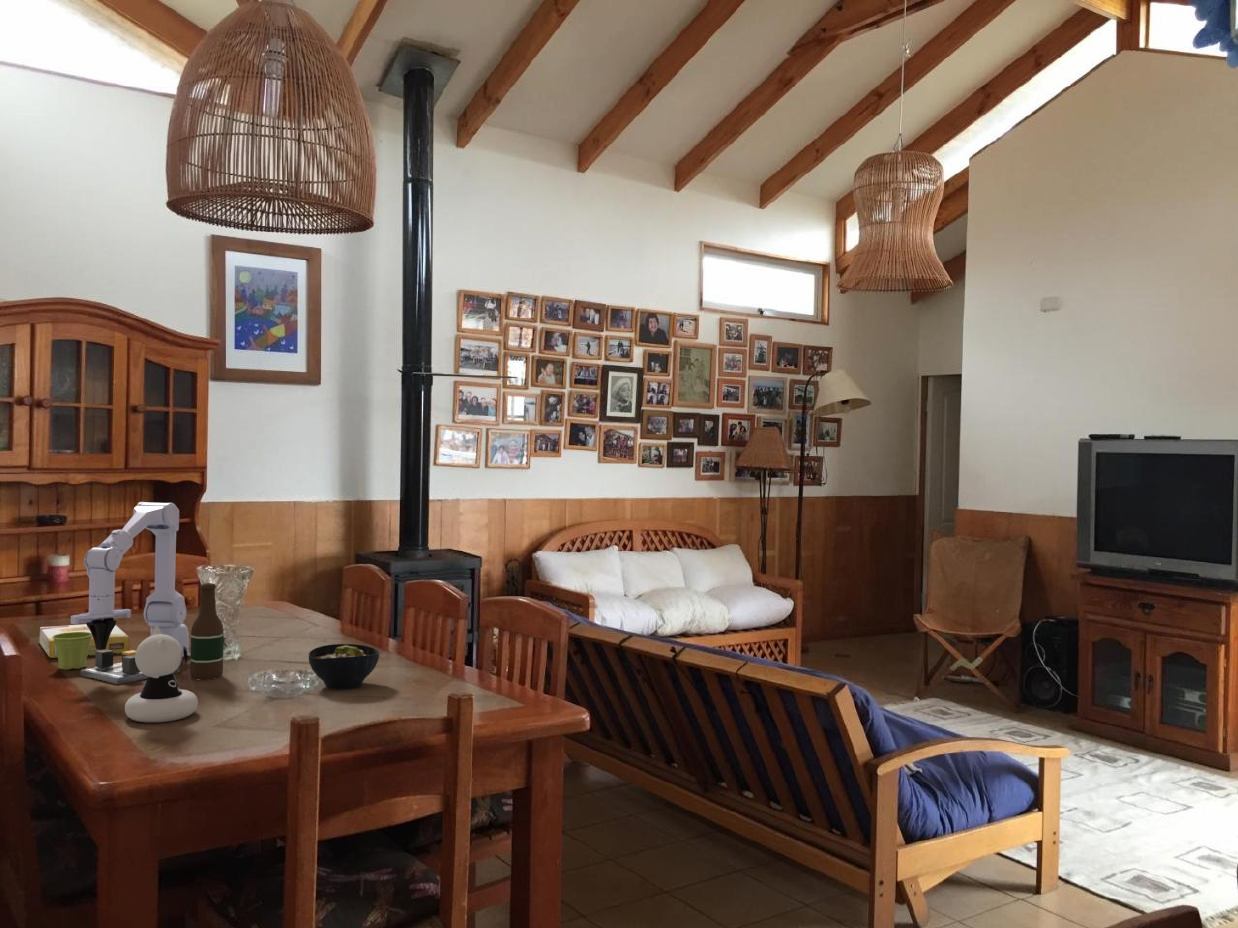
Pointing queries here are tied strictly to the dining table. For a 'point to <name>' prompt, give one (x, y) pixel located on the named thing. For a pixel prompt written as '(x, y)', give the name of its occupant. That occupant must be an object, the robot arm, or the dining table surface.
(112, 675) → the panel
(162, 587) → the robot arm
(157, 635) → the decorative figurine
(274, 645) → the dining table surface
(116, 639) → the cereal box
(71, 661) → the plant pot
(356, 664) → the bowl
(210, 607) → the beer bottle
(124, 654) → the block
